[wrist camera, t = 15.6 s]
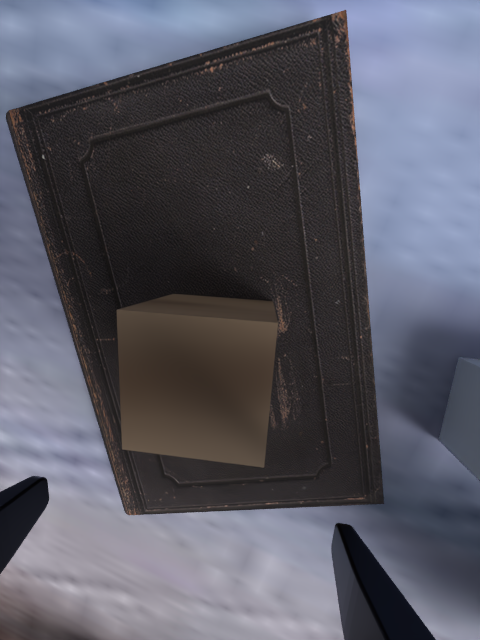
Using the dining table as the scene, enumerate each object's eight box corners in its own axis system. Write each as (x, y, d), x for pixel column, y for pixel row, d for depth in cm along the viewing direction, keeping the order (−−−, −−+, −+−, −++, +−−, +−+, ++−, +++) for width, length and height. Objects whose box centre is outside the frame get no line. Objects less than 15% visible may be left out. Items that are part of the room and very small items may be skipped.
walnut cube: (264, 394, 13) (264, 467, 8) (172, 385, 14) (122, 449, 9) (272, 301, 12) (277, 322, 7) (173, 293, 13) (116, 309, 8)
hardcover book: (331, 56, 12) (346, 8, 10) (368, 471, 16) (384, 504, 14) (38, 137, 14) (-5, 113, 12) (137, 486, 18) (119, 516, 16)
